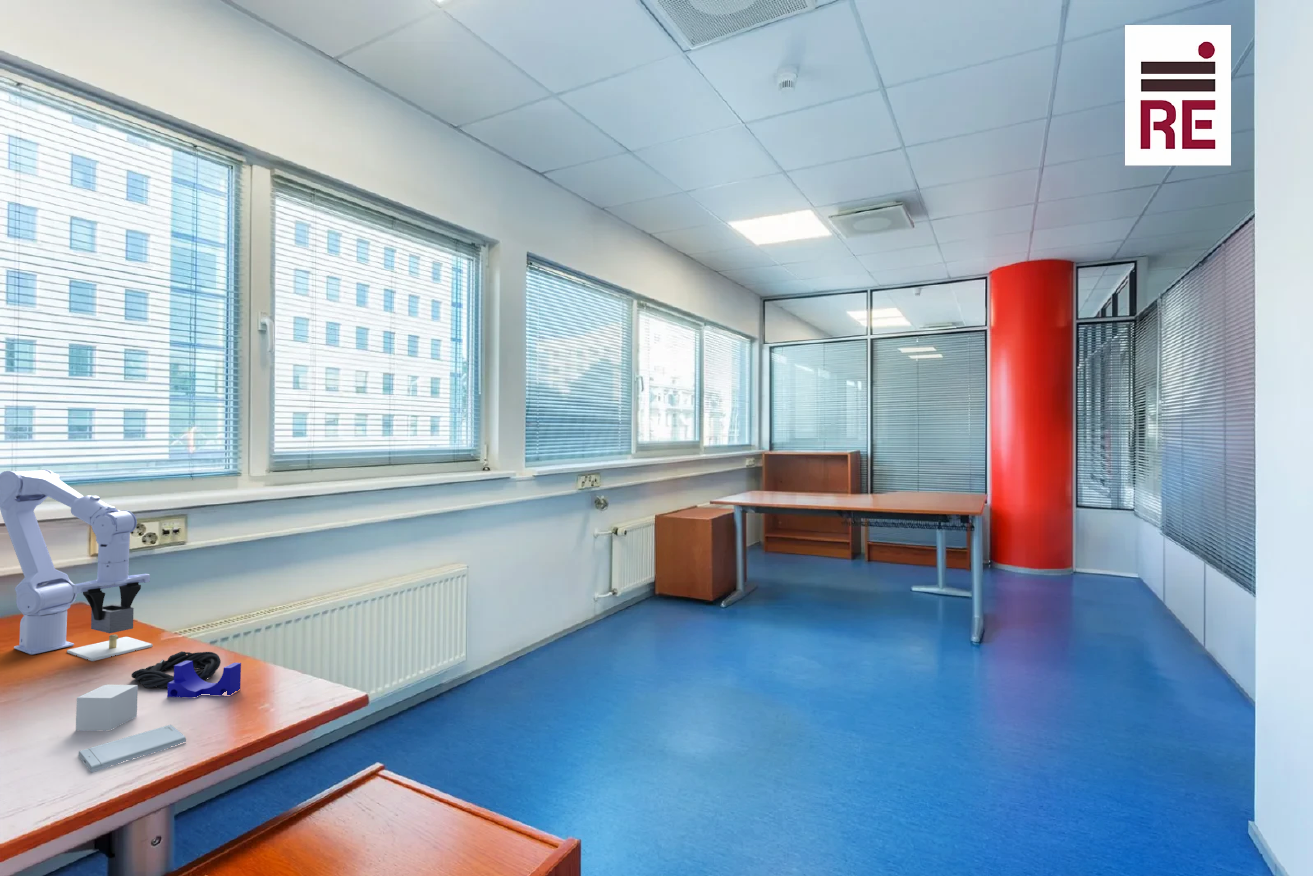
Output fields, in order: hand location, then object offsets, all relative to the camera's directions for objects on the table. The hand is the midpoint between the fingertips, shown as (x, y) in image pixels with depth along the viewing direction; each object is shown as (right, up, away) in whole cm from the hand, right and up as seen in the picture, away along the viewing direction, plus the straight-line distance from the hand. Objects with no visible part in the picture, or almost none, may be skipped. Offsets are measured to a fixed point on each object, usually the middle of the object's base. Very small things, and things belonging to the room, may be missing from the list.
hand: (111, 617), depth 150 cm
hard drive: (+44, -10, -46) cm, 64 cm away
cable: (+27, -10, -14) cm, 32 cm away
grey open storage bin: (0, -3, 0) cm, 3 cm away
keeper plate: (-1, -8, +1) cm, 9 cm away
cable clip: (+39, -10, -23) cm, 46 cm away
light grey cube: (+31, -9, -37) cm, 49 cm away
